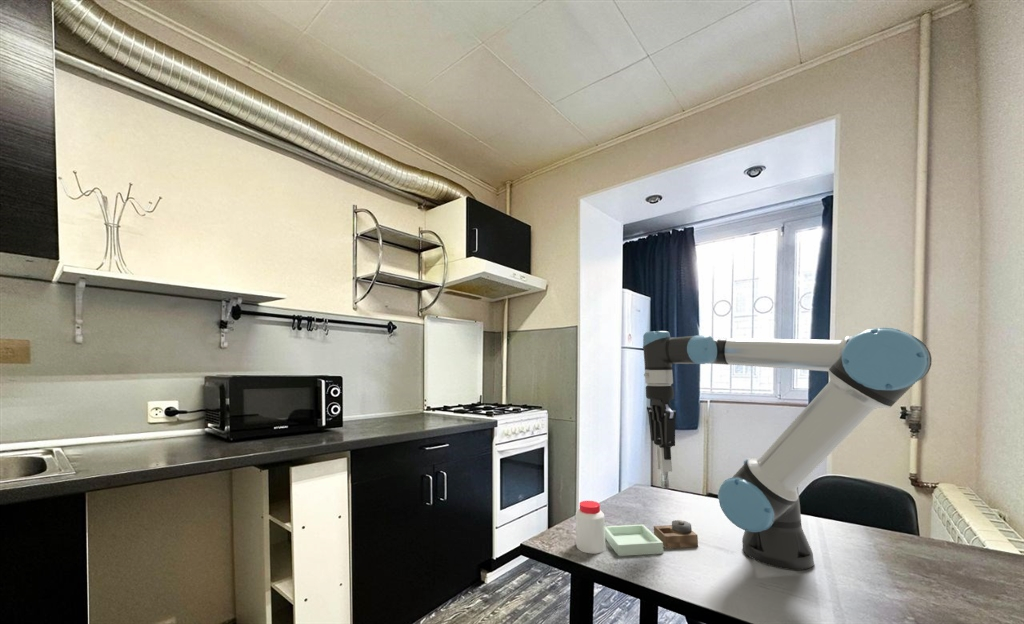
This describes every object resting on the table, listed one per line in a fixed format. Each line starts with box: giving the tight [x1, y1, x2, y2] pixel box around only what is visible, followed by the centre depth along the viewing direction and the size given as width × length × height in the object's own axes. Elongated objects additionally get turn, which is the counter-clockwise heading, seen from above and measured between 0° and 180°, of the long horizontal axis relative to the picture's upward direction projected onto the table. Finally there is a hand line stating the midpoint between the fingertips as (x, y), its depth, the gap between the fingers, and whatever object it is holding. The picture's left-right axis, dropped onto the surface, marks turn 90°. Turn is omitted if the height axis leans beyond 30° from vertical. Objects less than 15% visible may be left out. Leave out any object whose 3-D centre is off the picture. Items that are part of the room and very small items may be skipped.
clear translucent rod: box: [659, 449, 671, 489], centre depth 112 cm, size 2×2×10 cm
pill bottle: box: [575, 500, 607, 554], centre depth 108 cm, size 8×8×11 cm
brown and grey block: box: [653, 519, 699, 549], centre depth 110 cm, size 9×7×5 cm
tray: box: [605, 523, 664, 557], centre depth 109 cm, size 12×12×3 cm
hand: (664, 469), depth 112 cm, fingers closed on clear translucent rod, 2 cm apart
